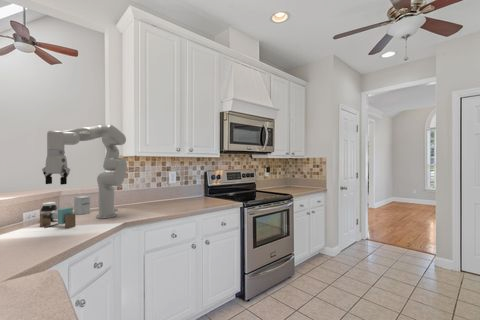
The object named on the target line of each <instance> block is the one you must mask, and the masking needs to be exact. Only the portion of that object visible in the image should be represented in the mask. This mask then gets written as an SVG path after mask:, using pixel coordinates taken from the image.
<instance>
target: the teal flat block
mask: <svg viewBox="0 0 480 320" xmlns="http://www.w3.org/2000/svg"><path fill="white" fill-rule="evenodd" d="M73 209H74V208H73V207H68V206H67V207H64V208H59V209H57V211H58V221H57V224H58V225H65V214H72V213H74V210H73Z"/></svg>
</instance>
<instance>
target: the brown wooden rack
mask: <svg viewBox="0 0 480 320" xmlns="http://www.w3.org/2000/svg"><path fill="white" fill-rule="evenodd" d="M51 219H58V214H55V213H51V212H47V213H42V214H41V213H40V214H39V227H40V228H41V227H42V228H44V229H47V228H51V227H54V226H58V225H59V224H58V223H54V224H52V221H51ZM73 227H74V228H75V227H76V214H74V212H73V213H72V214H65V224H64V228H65V229H70V228H73Z"/></svg>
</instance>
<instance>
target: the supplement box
mask: <svg viewBox="0 0 480 320" xmlns="http://www.w3.org/2000/svg"><path fill="white" fill-rule="evenodd" d="M73 200H74V202H73V204H74V205H73V207H74V208H73V209H74V210H73V213H74V214H75V215H79V216H80V215H86V214H89V213H90V212H91V196H87V195H80V196H75V197H74V199H73Z"/></svg>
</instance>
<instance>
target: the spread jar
mask: <svg viewBox="0 0 480 320" xmlns="http://www.w3.org/2000/svg"><path fill="white" fill-rule="evenodd" d="M47 212H51V213H55V214H58V206H57V205H56V201H48V202H42V207H41V209H40V214H42V213H47ZM53 221H54V222H58V219H51V222H53Z"/></svg>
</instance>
